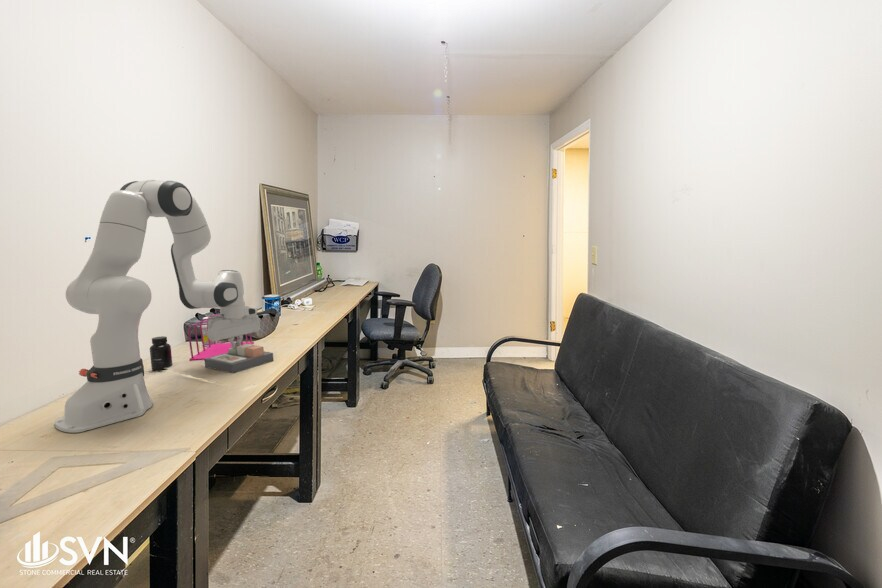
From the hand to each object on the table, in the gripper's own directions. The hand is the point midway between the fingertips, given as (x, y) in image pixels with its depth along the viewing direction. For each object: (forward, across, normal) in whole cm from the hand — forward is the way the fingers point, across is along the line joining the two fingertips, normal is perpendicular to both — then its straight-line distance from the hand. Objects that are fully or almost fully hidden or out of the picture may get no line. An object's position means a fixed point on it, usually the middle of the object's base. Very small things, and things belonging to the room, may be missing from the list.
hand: (236, 347), depth 180 cm
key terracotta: (+3, 0, -11) cm, 11 cm away
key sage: (+4, 0, 0) cm, 4 cm away
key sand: (+3, 0, -6) cm, 6 cm away
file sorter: (+6, +6, +18) cm, 20 cm away
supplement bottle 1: (+6, -18, +19) cm, 27 cm away
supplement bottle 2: (+6, +12, +36) cm, 38 cm away
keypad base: (+6, -3, -6) cm, 9 cm away
